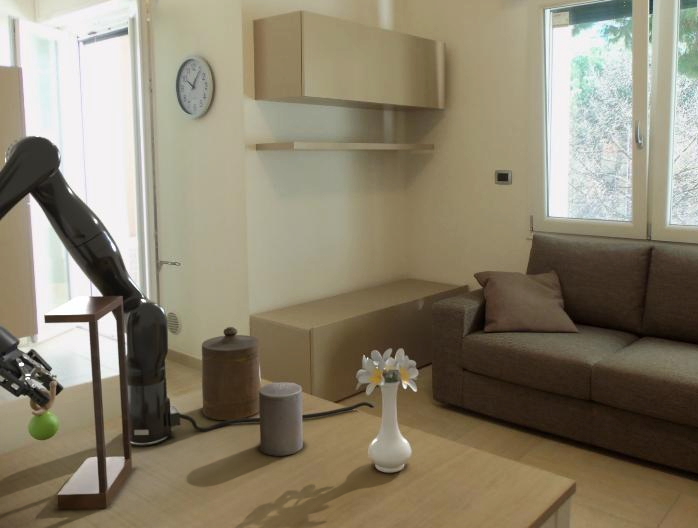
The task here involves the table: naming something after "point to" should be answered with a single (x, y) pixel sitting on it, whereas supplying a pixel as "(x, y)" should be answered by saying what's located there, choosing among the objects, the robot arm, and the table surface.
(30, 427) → the snail figurine
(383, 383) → the flower vase
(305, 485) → the table surface
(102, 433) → the shelf unit
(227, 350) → the wooden container
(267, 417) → the pillar candle
